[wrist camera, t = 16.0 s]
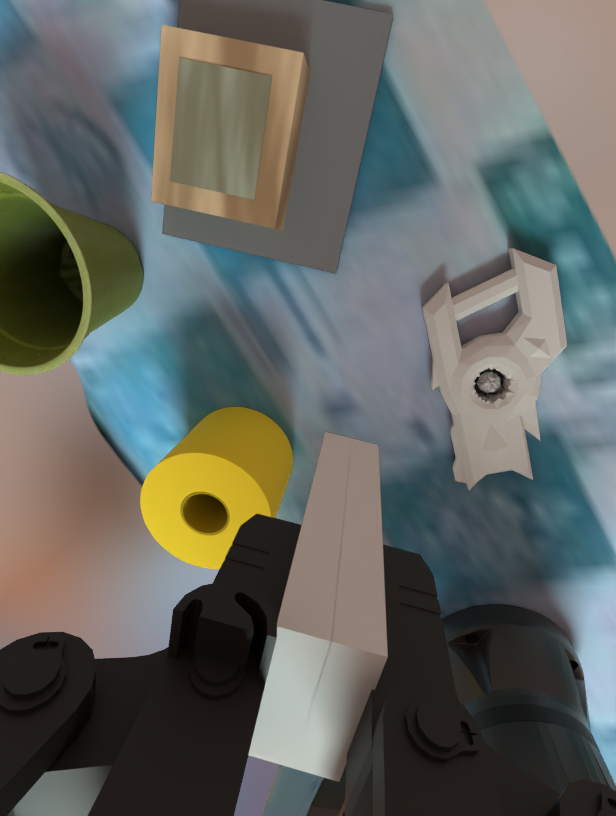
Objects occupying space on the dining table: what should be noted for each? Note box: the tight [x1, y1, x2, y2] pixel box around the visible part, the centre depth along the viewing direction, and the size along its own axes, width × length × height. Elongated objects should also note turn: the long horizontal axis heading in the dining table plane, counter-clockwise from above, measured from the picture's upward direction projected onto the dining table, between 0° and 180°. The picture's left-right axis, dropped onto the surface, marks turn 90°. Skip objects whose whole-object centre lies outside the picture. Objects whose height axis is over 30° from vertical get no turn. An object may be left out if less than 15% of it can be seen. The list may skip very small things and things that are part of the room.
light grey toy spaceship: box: [422, 248, 567, 490], centre depth 33 cm, size 18×4×10 cm
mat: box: [162, 0, 393, 274], centre depth 30 cm, size 16×14×1 cm
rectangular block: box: [151, 25, 310, 230], centre depth 29 cm, size 3×10×9 cm
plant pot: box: [0, 172, 143, 375], centre depth 30 cm, size 12×12×11 cm
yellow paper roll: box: [140, 407, 293, 569], centre depth 36 cm, size 10×10×9 cm
